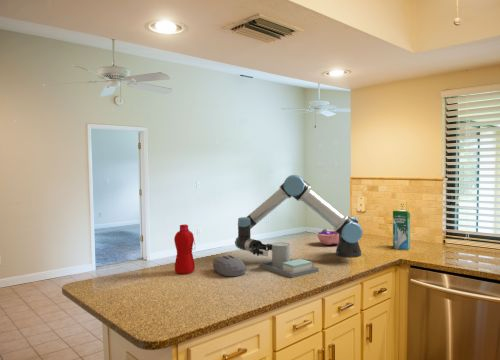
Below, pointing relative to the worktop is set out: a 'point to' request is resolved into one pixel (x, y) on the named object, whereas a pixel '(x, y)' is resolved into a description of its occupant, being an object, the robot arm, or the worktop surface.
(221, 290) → the worktop surface
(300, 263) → the teal sponge
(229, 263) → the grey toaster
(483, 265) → the worktop surface
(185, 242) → the water bottle
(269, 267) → the tote tray
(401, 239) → the milk carton
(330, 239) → the cell model
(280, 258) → the speckled grey can
